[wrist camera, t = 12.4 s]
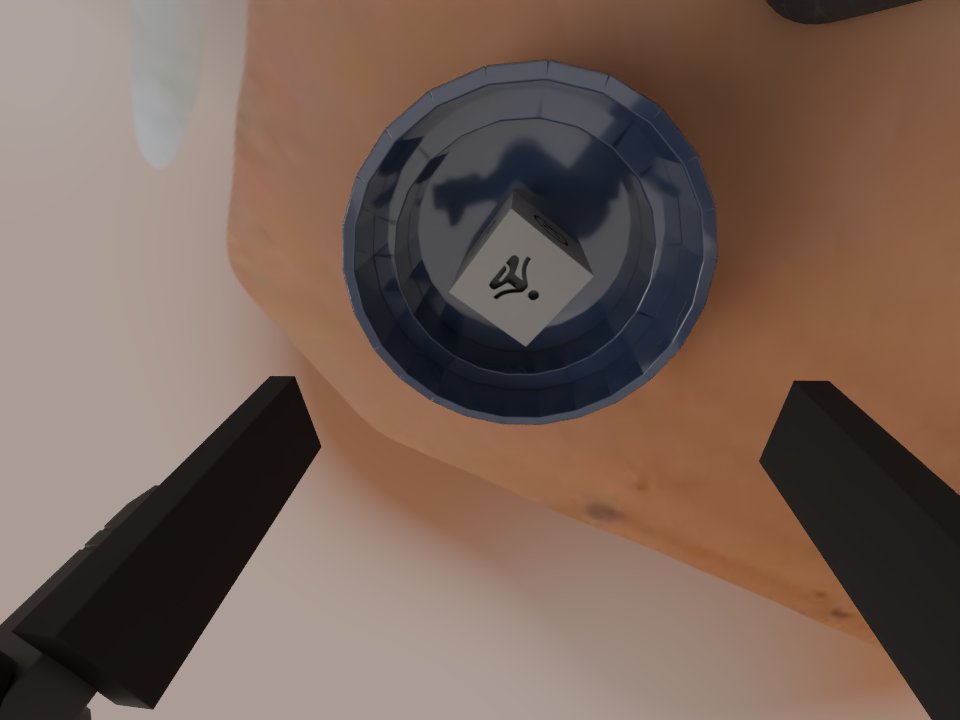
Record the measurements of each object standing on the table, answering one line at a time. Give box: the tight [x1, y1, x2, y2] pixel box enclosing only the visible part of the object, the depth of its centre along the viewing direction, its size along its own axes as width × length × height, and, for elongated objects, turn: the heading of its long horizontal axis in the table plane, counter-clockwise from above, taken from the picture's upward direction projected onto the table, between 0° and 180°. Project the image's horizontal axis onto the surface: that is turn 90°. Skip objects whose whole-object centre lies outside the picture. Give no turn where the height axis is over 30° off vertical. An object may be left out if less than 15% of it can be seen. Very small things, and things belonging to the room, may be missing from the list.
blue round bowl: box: [343, 60, 717, 425], centre depth 21 cm, size 17×17×6 cm
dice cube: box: [449, 191, 594, 347], centre depth 21 cm, size 5×5×5 cm
